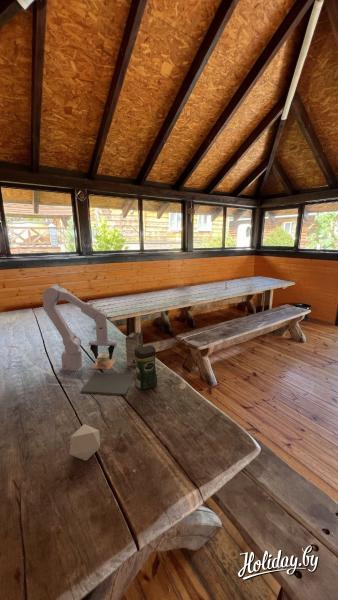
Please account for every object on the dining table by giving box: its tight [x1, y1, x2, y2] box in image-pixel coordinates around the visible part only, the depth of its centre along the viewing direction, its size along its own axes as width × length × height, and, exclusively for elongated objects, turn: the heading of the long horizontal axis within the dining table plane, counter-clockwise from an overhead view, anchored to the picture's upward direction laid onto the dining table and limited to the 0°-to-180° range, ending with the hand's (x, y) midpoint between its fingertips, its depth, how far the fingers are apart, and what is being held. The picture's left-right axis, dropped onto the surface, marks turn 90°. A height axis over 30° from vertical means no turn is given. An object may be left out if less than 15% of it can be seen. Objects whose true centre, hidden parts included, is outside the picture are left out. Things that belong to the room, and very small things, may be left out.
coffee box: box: [125, 331, 144, 367], centre depth 131 cm, size 9×6×16 cm
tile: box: [91, 359, 116, 370], centre depth 131 cm, size 10×10×1 cm
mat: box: [80, 371, 136, 396], centre depth 113 cm, size 20×16×1 cm
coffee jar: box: [134, 344, 158, 390], centre depth 110 cm, size 10×8×19 cm
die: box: [69, 423, 101, 461], centre depth 75 cm, size 8×9×10 cm
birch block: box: [96, 352, 110, 367], centre depth 130 cm, size 5×5×5 cm
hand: (103, 358), depth 130 cm, fingers open, 7 cm apart
